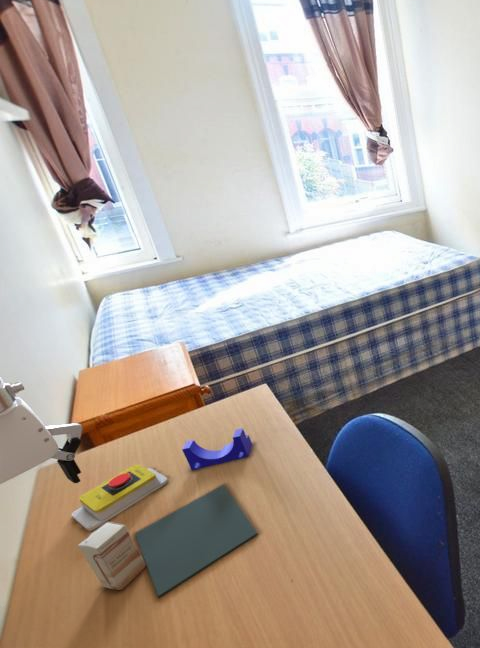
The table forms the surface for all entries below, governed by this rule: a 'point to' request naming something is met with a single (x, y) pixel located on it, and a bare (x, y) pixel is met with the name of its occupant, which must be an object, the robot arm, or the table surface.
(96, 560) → the printed medicine box
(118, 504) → the emergency button
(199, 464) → the cable clip
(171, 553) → the mat
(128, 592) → the table surface
